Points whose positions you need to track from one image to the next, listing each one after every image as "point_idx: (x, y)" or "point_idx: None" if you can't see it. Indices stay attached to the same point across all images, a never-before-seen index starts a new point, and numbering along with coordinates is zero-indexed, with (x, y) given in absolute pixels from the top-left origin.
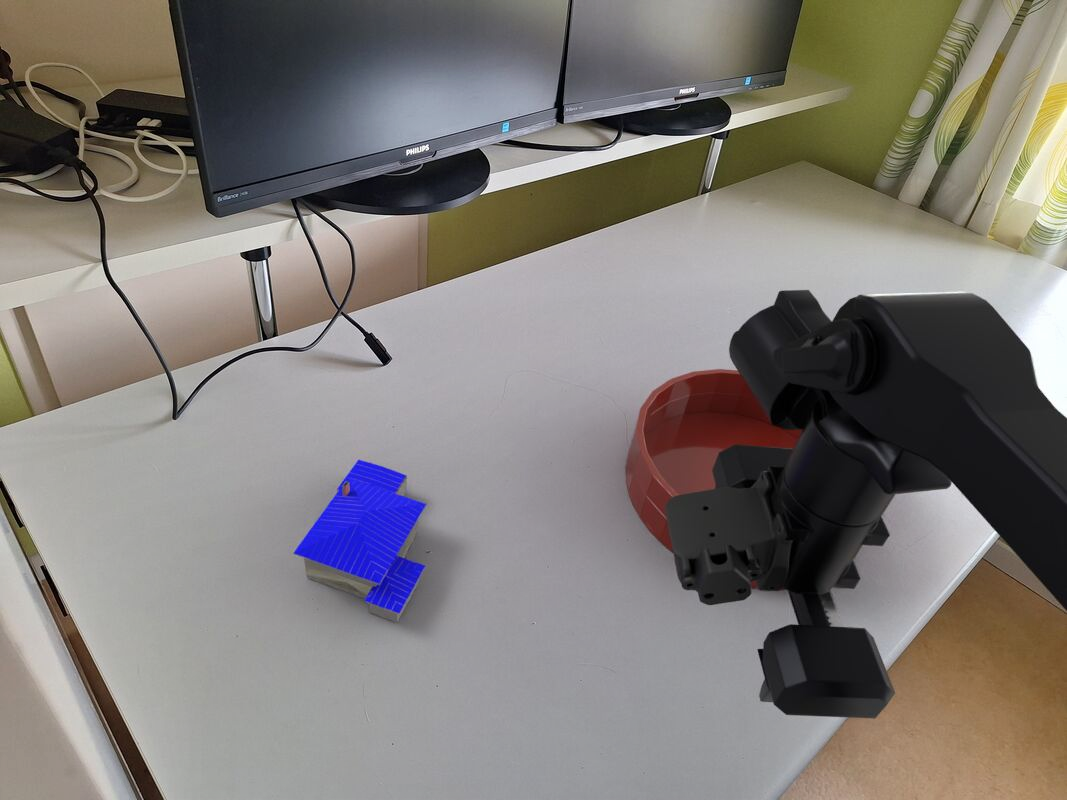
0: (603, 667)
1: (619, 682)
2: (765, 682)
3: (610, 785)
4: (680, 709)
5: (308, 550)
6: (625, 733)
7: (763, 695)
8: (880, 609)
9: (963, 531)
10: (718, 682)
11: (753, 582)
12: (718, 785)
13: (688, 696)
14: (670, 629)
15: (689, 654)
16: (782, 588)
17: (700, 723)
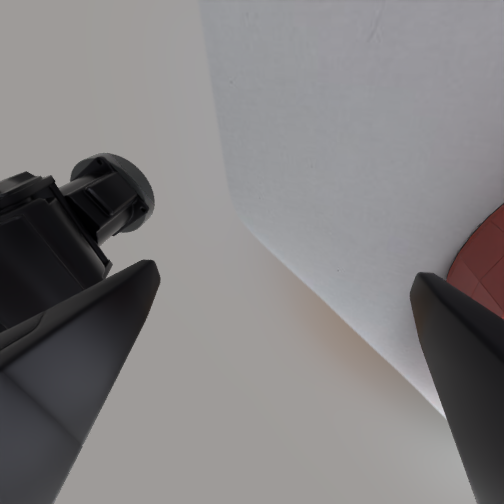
0: (378, 17)
1: (350, 48)
2: (92, 297)
3: (209, 30)
4: (308, 139)
5: None
6: (276, 56)
7: (115, 275)
8: (400, 343)
9: None
10: (340, 189)
11: (464, 256)
12: (230, 169)
13: (324, 151)
14: (424, 139)
15: (381, 161)
16: (447, 280)
17: (292, 161)
